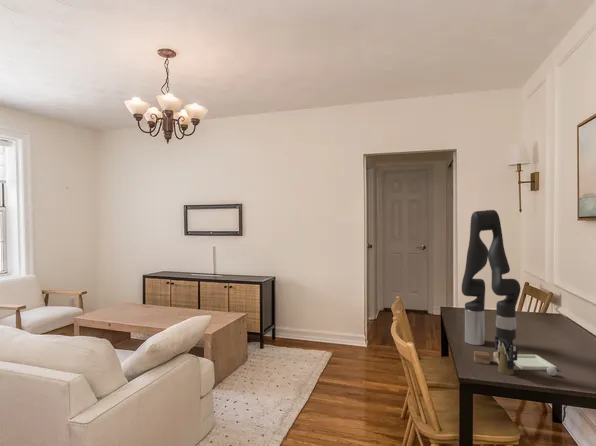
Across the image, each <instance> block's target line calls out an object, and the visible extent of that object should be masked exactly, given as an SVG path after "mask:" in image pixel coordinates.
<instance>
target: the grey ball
mask: <svg viewBox="0 0 596 446" xmlns="http://www.w3.org/2000/svg"><path fill="white" fill-rule="evenodd" d="M546 373H547V374H548V375H549V376H553V377H555V376H556V375H557V373H558V371H557V368H556V369H555V368H554V367H548V368H547V370H546Z"/></svg>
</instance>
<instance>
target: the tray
mask: <svg viewBox="0 0 596 446" xmlns="http://www.w3.org/2000/svg"><path fill="white" fill-rule="evenodd" d="M514 357H515V355H514ZM514 365H515V367H518V368H519V369H520V370H522V371H547V368H548V367H554V368H555V369H556V370H557V366H555V365H554V364H553V363H551V362H550V361H548V360H546V359H544V358H542V357H541V356H539V355H537V354H518V353H517V361H514Z"/></svg>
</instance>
